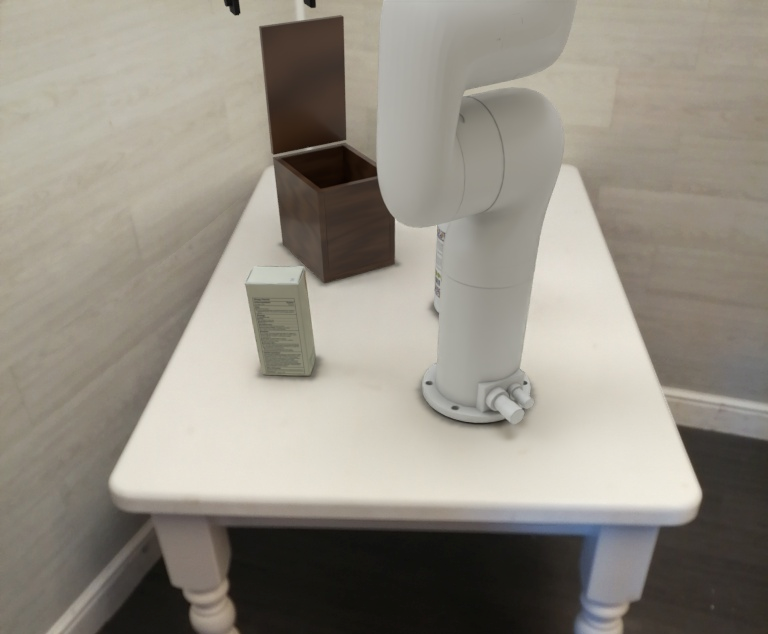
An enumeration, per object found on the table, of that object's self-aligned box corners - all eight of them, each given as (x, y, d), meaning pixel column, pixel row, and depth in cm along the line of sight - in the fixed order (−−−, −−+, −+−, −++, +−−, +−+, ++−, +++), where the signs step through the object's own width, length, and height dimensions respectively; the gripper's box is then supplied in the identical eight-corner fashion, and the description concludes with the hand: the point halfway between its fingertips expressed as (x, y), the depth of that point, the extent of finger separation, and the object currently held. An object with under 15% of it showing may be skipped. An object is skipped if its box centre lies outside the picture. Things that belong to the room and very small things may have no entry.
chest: (395, 264, 108) (395, 174, 99) (324, 283, 104) (317, 192, 95) (349, 227, 117) (345, 142, 108) (282, 243, 113) (272, 157, 104)
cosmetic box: (316, 357, 90) (308, 265, 82) (310, 377, 87) (301, 284, 79) (266, 355, 91) (252, 263, 82) (258, 375, 88) (243, 281, 79)
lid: (343, 16, 96) (326, 6, 99) (261, 27, 92) (245, 17, 95) (346, 140, 107) (330, 128, 110) (273, 154, 103) (259, 142, 106)
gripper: (179, -177, 73) (210, 22, 86) (340, -182, 78) (348, 9, 90) (167, -179, 78) (198, 10, 91) (319, -183, 83) (329, -2, 95)
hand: (273, 9), depth 90 cm, fingers open, 9 cm apart
